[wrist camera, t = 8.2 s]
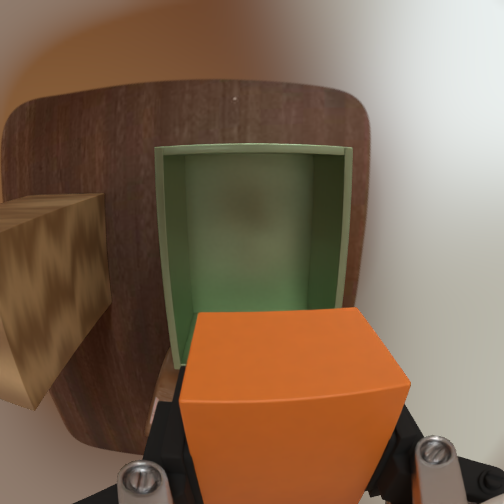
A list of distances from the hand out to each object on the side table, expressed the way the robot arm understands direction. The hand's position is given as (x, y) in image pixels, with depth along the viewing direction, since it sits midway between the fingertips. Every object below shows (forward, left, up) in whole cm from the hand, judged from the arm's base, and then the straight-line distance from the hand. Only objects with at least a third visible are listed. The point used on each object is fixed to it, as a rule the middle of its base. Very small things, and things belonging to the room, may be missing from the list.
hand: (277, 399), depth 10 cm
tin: (+11, -15, -22) cm, 29 cm away
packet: (0, 0, 0) cm, 0 cm away
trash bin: (0, 0, -22) cm, 22 cm away
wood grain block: (-8, -19, -22) cm, 30 cm away
